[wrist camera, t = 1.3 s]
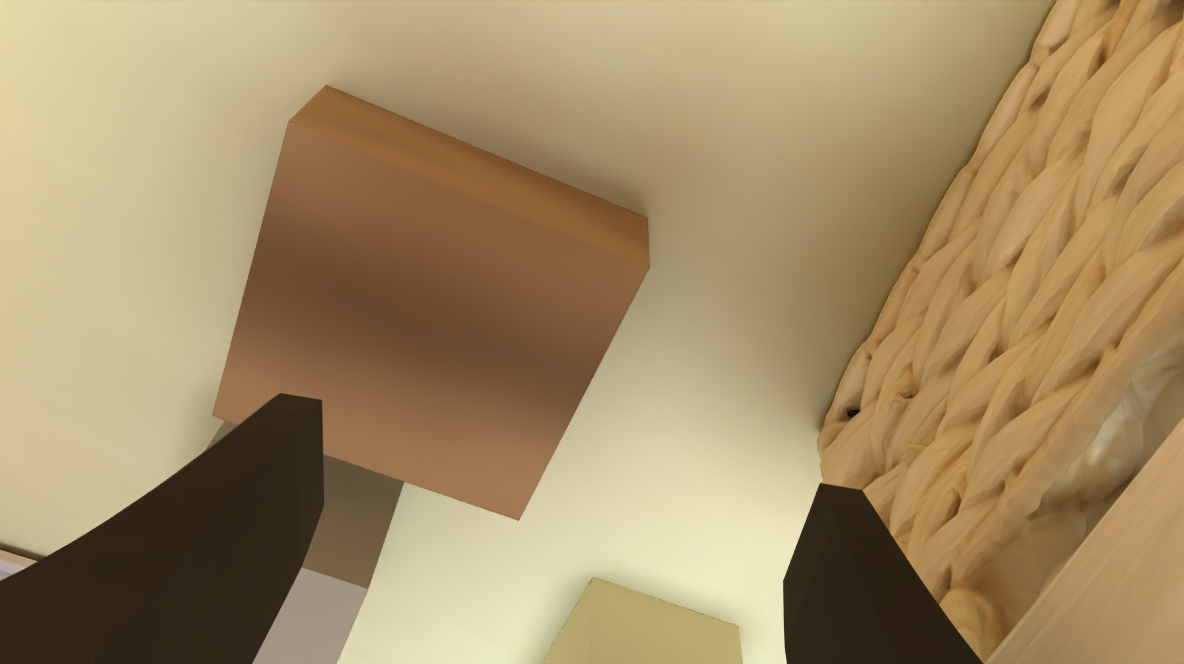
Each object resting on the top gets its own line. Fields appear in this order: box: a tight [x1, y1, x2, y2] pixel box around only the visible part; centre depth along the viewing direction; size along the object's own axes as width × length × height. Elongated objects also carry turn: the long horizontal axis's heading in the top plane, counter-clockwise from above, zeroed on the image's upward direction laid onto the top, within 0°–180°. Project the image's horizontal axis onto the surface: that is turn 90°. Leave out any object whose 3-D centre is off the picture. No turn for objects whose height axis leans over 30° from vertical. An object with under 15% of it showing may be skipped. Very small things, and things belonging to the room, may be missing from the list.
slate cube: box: [206, 420, 404, 664], centre depth 25 cm, size 5×5×5 cm
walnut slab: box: [212, 85, 650, 521], centre depth 22 cm, size 8×8×3 cm
